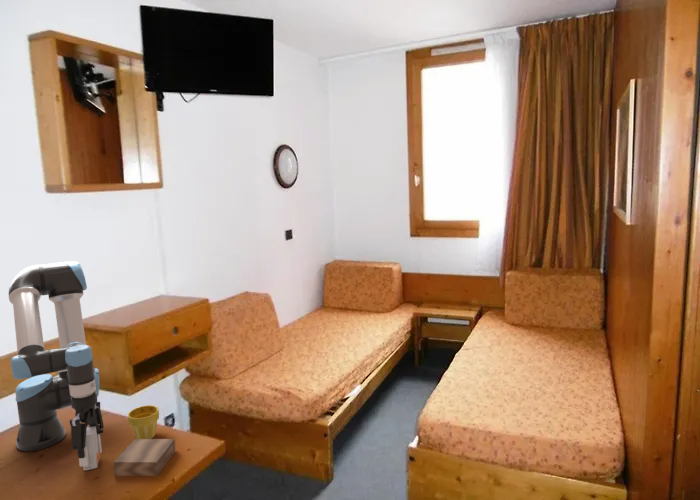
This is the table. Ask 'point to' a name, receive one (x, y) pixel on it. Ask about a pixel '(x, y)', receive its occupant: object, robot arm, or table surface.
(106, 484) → the table surface
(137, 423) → the plant pot
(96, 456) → the skincare box
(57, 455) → the table surface
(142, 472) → the walnut block
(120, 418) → the table surface
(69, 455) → the table surface
